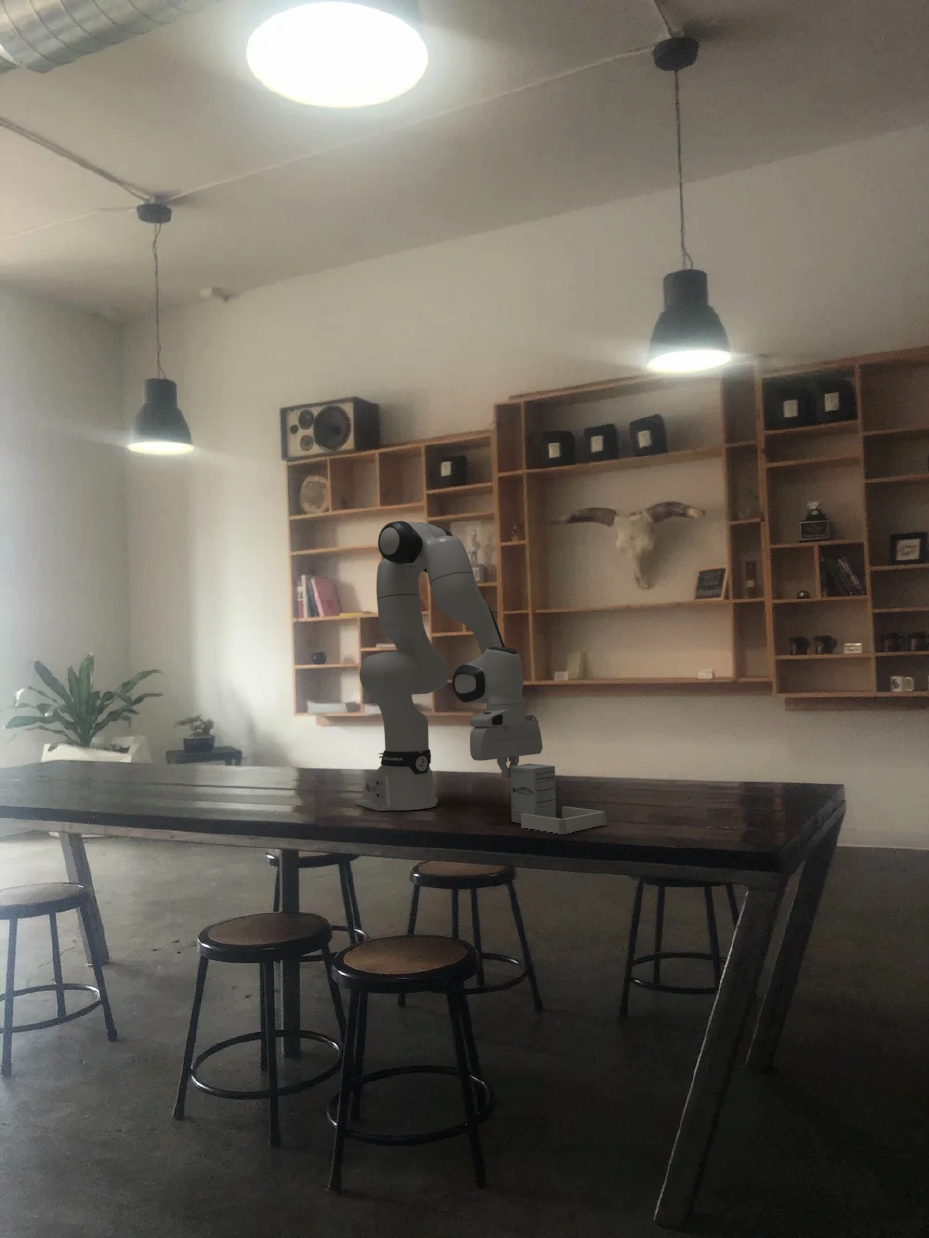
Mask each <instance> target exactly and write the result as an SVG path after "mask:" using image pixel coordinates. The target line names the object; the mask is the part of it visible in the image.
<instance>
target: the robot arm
mask: <svg viewBox="0 0 929 1238" xmlns="http://www.w3.org/2000/svg"><path fill="white" fill-rule="evenodd" d="M377 545H378V546H377V547H378V551H379V553H380V555H381V556H382V557H383V559H382V560H380V562H379V563H378V566H377V569H376V570H377V572H376V603H377V613H378V615H377V617H378V624H379V625H378V626H379V630H380V631H381V633H382V634H383V635H384V636H385V637H387V638H388V639H390V640H391V641H392V643H393V644H394V646H395V649H396V651H383V652H379V653H375V654H372V655H368V656H367V657H365V659H364V660H363V661H362V663H361V665H360V668H359V681H360V684H361V686H362V687H363V690H365V692H367V693H368V694H369V695H370V696H371V697H372V698H373V699H374V701H375V702H376V704H377V706H378V709H379V710H380V713H381V716H382V720H383V721H382V722H383V733H384V750H383V752H380V753H378V755H380V756H378V758H379V759H381V761H380V766H379V767H378V768H377V770H375V771H374V772H373V773H372V774H371V776H370V777H368V778H367V779H366V780H365V784H364V795H363V796H364V797H363V798H359V799H357V800H355V802H354V805H357V806H361V807H363V808H367V809H371V810H374V811H379V812H382V811H383V812H384V811H385V812H387V811H413V810H423V809H431V808H433V807H436V806H437V804H438V803H439V798H438V797H436V791H435V784H434V776H433V775H434V774H433V770H432V769H431V767H430V764H431V763H432V754H431V753H432V752H431V749H430V747H429V746H430V744H429V742H430V741H429V719H428V718H427V716H426V715H425V714H424V713H423V712H421V711H419V710H418V709H417V707H416V706H415V703H414V699H413V696H412V695H426V694H430V693H434V692H437V691H438V690H441V689H443V688H445V686H446V685H447V683H448V681H449V677H450V667H449V664H448V662H447V660H446V659H445V657H444V656H443V655H441V654H440V653H439V652H438V651H437V650H436V649H435V647H434V646H433V643H432V642H431V641H430V638H429V636H428V634H427V632H426V629H425V624H424V620H423V619H424V618H423V612H422V603H421V594H420V586H419V582H420V581H419V579H420V576H421V573H422V572H425V573H427V577H428V582H429V587H430V592H431V596H432V599H433V601H434V603H435V606H436V608H437V609H438V610H439V611H440V612H441V613H442V614H444V615H446V616H447V617H450V618H452V619H454V620H456V621H458V622H460V623H461V624H463V625H465V626H466V627H467V628H468V629H470V631H471V632H472V633H473V635H474V638H475V639H476V642H477V645H478V647H479V651H480V653H481V655H480V656H478V657H477V658H475V659H474V660H472V661H469V662H467V663H465V664H462V665H459V666H457V668H456V669H455V670H454V673H453V675H452V679H451V681H452V682H451V684H452V686H451V687H452V691H453V693H454V695H455V697H456V698H457V699H458V701H460V702H462V703H464V704H465V703H466V704H485V705H486V708H485V710H483V711H481V712H480V713H478V714H476V715H473V716H472V717H470V719H469V723H470V725H469V726H470V727H472V729H471V731H470V733H469V735H470V736H469V752H470V756H471V758H472V760H473V761H477V762H478V761H480V762H481V761H490V760H491V761H493V760H496V763H497V766H498V767H499V769H500V772H501V777H502V778H503V779H508V778H511V766H517V765H519V763H520V757H523V756H531V755H541V754H542V751H543V740H542V733H541V729H540V725H539V720H538V719H537V717H536V716H534V715H533V714H529V715H526V712H525V710H526V709H525V699H524V696H523V688H524V672H523V664H522V658H521V655H520V654H519V652H518V651H517V650H516V649H514V648H511V647H506V646H505V643H504V640H503V637H502V635H501V631H500V630H499V626H498V623H497V620H496V618H495V616H494V613H493V611H492V609H491V607H490V605H489V604H488V602H486V600H485V599H484V597H483V596H482V593H481V591H480V588H479V587H478V583H477V581H476V578H475V573H474V569H473V566H472V563H471V560H470V557H469V555H468V552H467V550H466V548H465V546H464V544H463V542H462V541H461V539H459V538H458V537H456V536H454V535H453V534H452V533H451V531H450V530H449V529H446V528H445V527H442V526H439V525H433V524H430V523H425V522H419V521H418V522H414V521H412V522H411V521H403V520H397V521H396V520H395V521H391V522H388V523H387V524H386V525H385V524H384V526H383V527H382V529H381V530H380V532H379V534H378V540H377ZM508 762H509V764H508V765H509V766H508V765H507V763H508Z"/></svg>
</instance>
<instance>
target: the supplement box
mask: <svg viewBox="0 0 929 1238" xmlns="http://www.w3.org/2000/svg"><path fill="white" fill-rule="evenodd" d="M510 795H511V796H510V800H511V801H510V802H511V804H510V806H511V813H510V814H511V823H512V822H514V823H516V824H521V814H531V815H538V816H545V817H552V818H557V813H556V810H557V807H556V805H557V804H556V800H557V799H556V798H557V797H556V766H555V765H549V764H548V765H547V764H538V763H525V764H518V765H517V766H511V777H510Z"/></svg>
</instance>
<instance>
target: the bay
mask: <svg viewBox="0 0 929 1238" xmlns="http://www.w3.org/2000/svg"><path fill="white" fill-rule="evenodd" d="M607 822H608V821H607V811H604V810H598V809H597V810H595V809H590V808H589V809H588V808H580V807H574V806H566V805H565V806H561V818H558V817H556V818H552V817H545V816H538V815H531V814H521V823H520V825H521V829H524V828H528V829H527V830H530V829H535V830H534V831H536V830H540V831H539V832H543V831H546V832H545V833H549V832H553V833H552V834H555V833H558V834H557V835H561V834H562V835H563V836H564V835H568V833H569V834H573V833H572V832H574V833H576V832H575V831H579V830H583V829H587V828H592V827H596V826H601V825H607ZM607 826H608V825H607ZM583 831H584V830H583ZM579 832H580V831H579Z"/></svg>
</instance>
